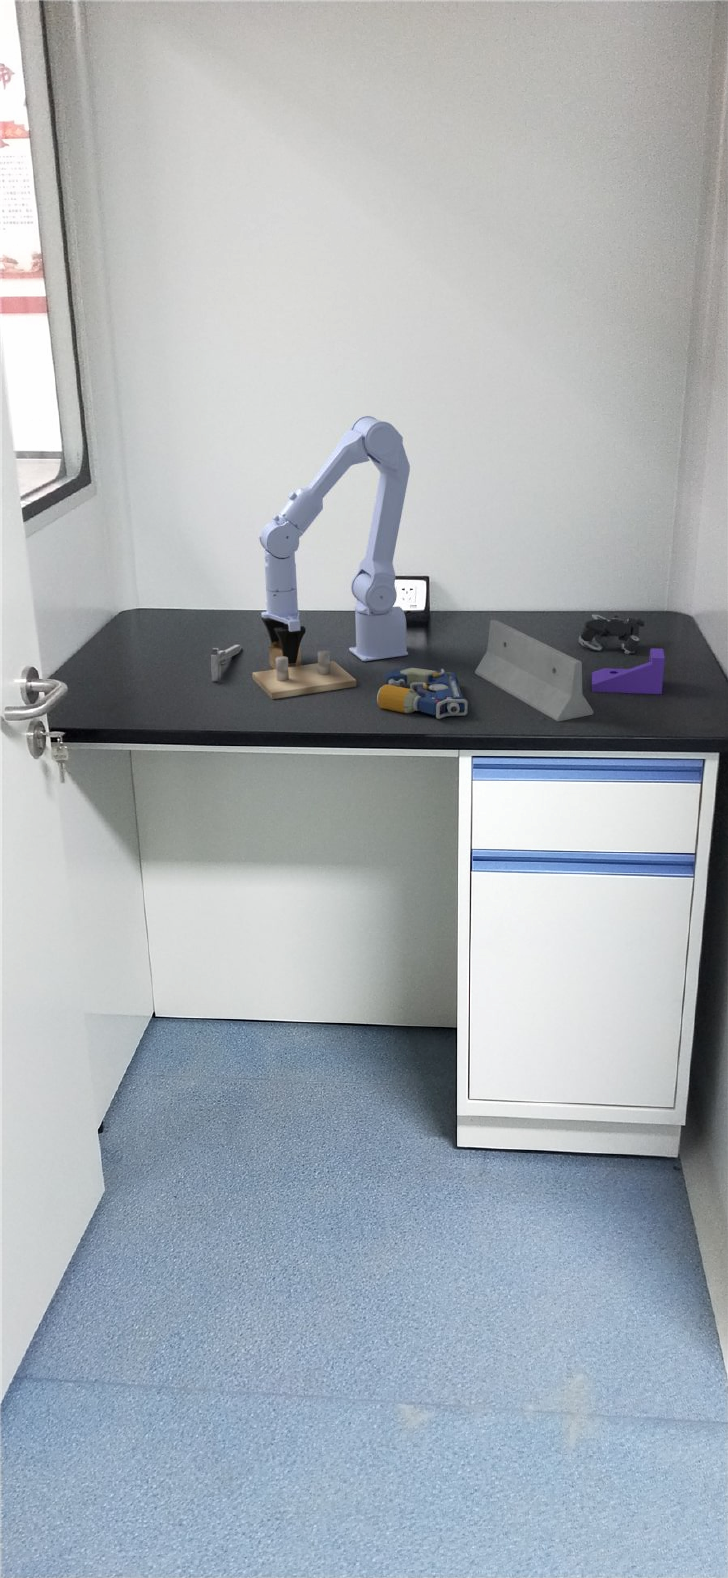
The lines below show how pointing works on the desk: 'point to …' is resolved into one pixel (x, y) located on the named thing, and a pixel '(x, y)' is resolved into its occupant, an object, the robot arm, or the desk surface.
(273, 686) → the wooden peg board
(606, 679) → the bracket
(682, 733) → the desk surface
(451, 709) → the toy blaster gun
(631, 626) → the bicycle component
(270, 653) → the ring
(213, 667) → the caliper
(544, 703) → the barrier
